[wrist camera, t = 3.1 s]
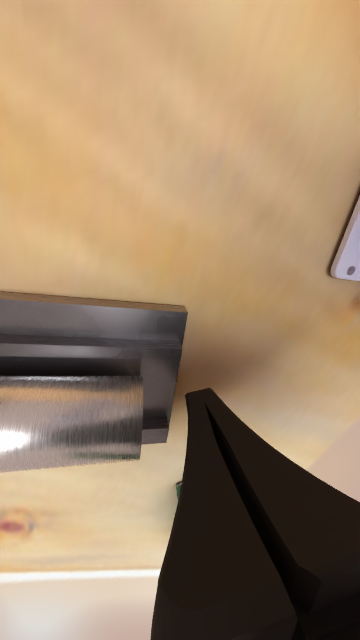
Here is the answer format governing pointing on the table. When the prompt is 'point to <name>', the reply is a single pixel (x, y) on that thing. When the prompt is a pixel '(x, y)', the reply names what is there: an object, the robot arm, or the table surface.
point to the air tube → (69, 421)
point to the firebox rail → (96, 345)
